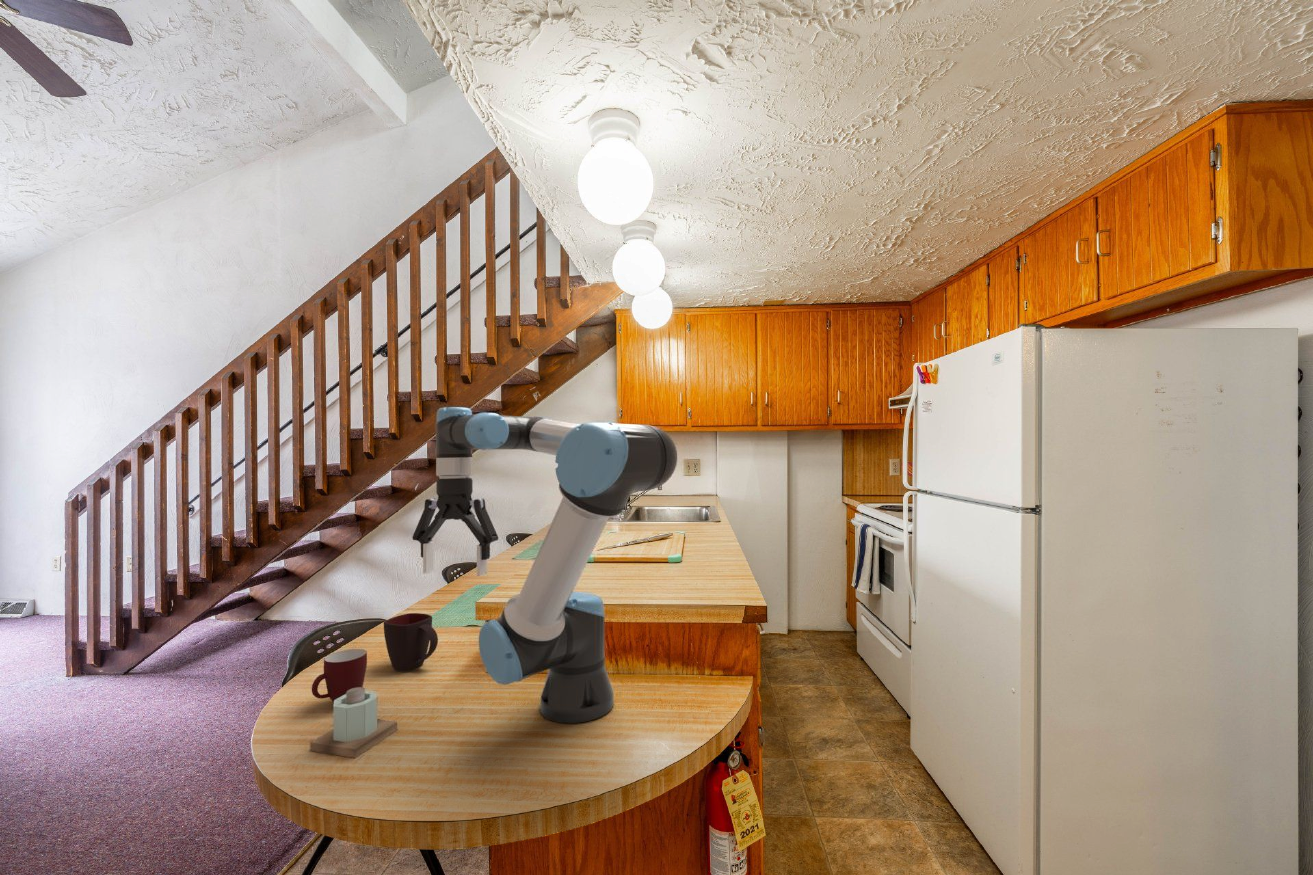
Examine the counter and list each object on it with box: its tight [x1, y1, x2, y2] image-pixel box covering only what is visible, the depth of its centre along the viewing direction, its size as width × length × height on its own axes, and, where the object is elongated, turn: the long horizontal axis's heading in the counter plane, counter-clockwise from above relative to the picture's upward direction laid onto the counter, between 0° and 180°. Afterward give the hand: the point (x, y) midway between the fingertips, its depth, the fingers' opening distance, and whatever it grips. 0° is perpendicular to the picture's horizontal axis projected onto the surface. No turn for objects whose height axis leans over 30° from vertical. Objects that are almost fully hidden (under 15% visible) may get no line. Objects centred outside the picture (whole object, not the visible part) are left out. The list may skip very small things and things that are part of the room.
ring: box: [332, 689, 378, 742], centre depth 99 cm, size 7×7×6 cm
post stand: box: [309, 687, 398, 759], centre depth 99 cm, size 10×10×9 cm
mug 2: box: [383, 612, 439, 673], centre depth 133 cm, size 10×14×12 cm
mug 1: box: [311, 648, 368, 704], centre depth 114 cm, size 10×8×10 cm
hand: (454, 573), depth 118 cm, fingers open, 13 cm apart
